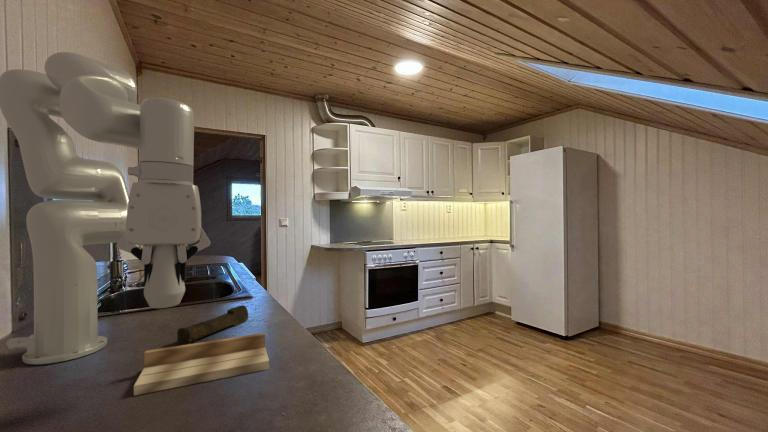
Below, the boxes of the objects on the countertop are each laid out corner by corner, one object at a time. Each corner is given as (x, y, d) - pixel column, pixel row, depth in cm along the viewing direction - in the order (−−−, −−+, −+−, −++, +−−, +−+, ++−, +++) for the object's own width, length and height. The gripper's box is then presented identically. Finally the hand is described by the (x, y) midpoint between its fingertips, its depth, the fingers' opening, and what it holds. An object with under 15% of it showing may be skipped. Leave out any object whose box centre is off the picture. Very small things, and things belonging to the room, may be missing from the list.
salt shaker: (139, 311, 51) (140, 227, 50) (147, 302, 56) (147, 226, 56) (183, 307, 53) (184, 227, 53) (186, 298, 58) (187, 226, 58)
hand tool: (187, 348, 70) (187, 326, 70) (175, 345, 72) (175, 324, 72) (255, 322, 88) (255, 304, 88) (244, 320, 89) (244, 303, 89)
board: (133, 395, 51) (133, 369, 51) (148, 369, 60) (148, 347, 60) (269, 368, 59) (268, 346, 59) (263, 349, 68) (263, 330, 68)
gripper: (96, 170, 47) (94, 296, 48) (221, 177, 54) (219, 287, 55) (113, 175, 54) (111, 285, 54) (222, 181, 61) (221, 278, 61)
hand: (165, 285), depth 54 cm, fingers closed on salt shaker, 3 cm apart
